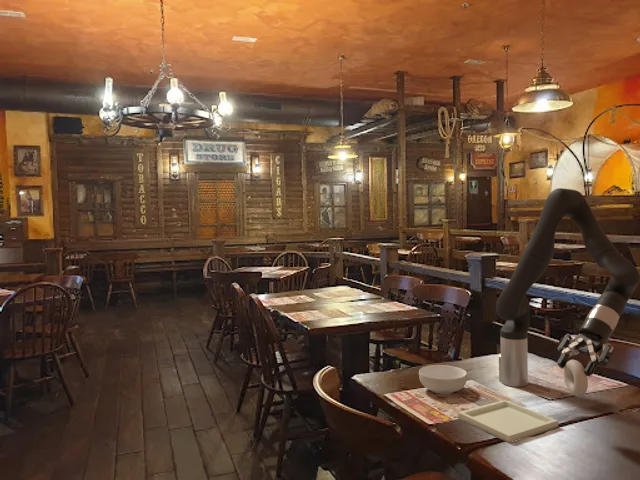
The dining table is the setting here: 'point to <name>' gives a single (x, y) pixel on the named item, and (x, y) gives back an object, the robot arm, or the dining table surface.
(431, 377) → the cereal bowl
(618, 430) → the dining table surface
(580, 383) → the donut
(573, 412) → the dining table surface
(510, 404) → the tray
